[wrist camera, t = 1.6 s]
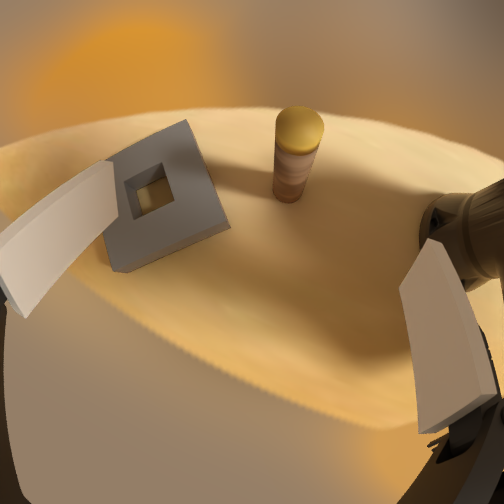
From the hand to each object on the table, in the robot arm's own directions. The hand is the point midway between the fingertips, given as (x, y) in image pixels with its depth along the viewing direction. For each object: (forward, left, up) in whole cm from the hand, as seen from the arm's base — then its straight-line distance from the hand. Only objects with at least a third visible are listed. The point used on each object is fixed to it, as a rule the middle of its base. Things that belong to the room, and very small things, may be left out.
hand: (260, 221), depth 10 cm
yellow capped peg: (+8, -7, -25) cm, 28 cm away
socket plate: (+14, +10, -25) cm, 31 cm away
